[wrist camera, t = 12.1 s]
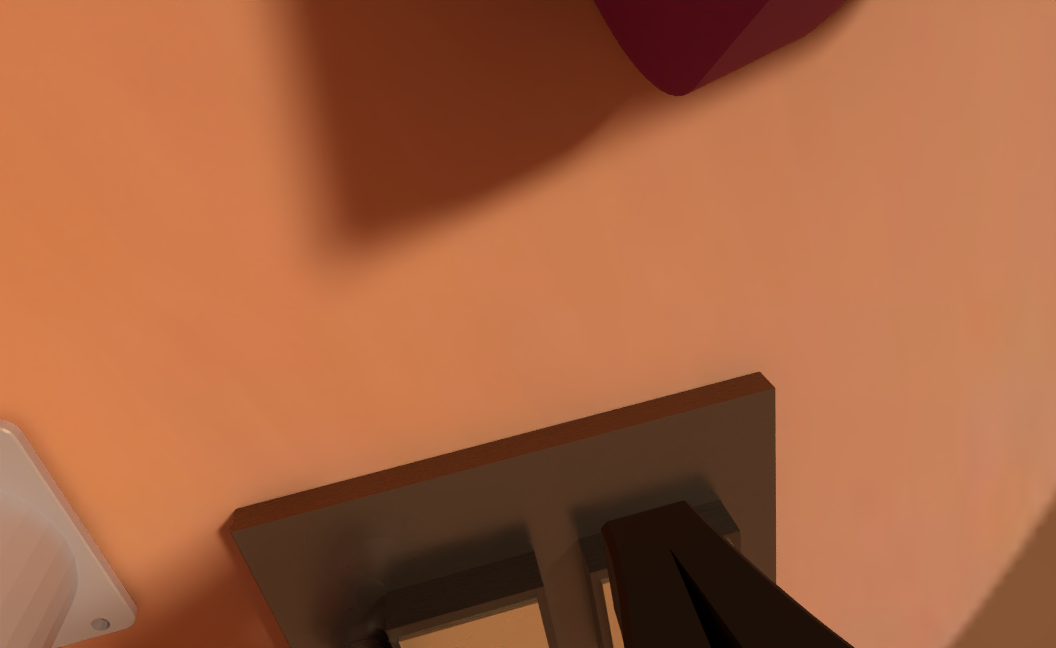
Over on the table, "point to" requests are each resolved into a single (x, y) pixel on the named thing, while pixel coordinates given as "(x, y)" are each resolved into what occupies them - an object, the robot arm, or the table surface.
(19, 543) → the robot arm
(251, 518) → the tray
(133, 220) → the table surface
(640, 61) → the mounting bracket
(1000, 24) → the table surface
